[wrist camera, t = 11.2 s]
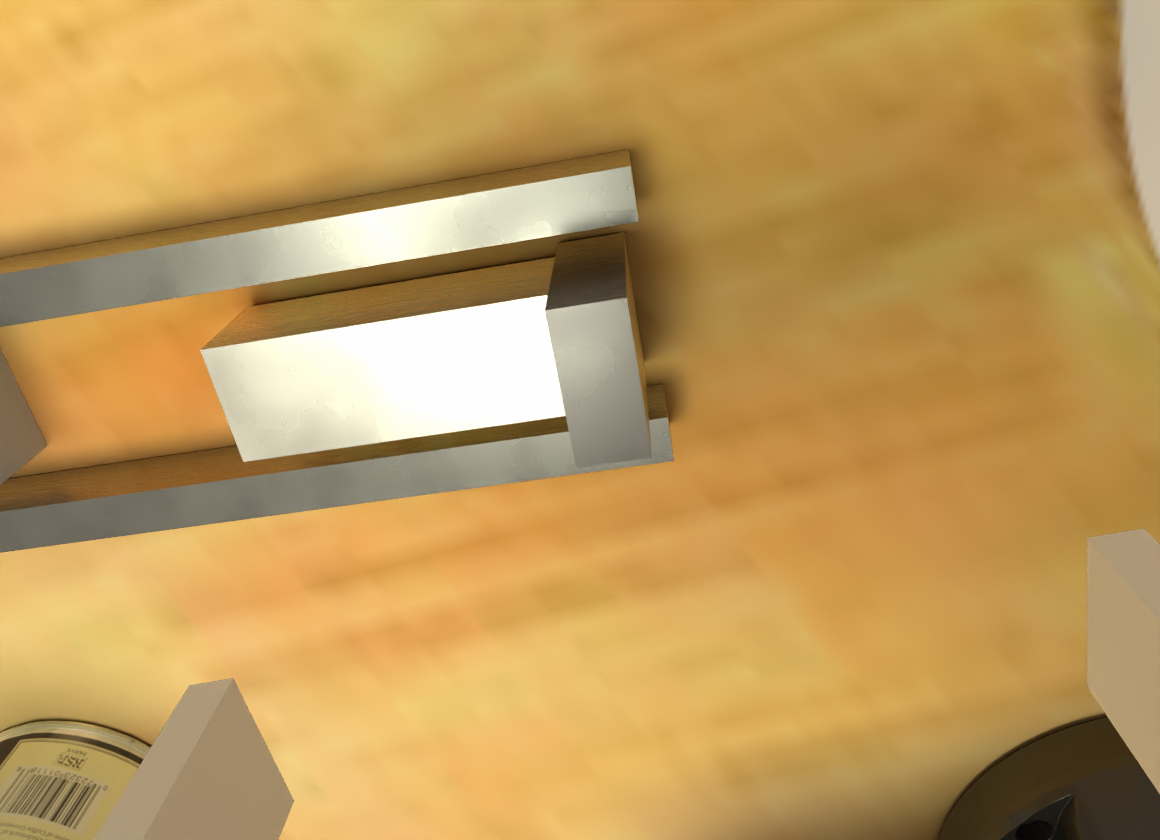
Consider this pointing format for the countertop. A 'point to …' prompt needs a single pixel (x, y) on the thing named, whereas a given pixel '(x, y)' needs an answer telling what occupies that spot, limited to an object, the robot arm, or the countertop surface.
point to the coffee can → (62, 778)
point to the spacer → (15, 425)
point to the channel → (287, 251)
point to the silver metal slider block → (444, 359)
